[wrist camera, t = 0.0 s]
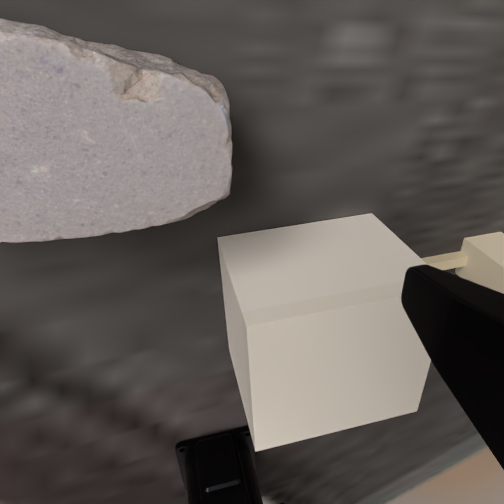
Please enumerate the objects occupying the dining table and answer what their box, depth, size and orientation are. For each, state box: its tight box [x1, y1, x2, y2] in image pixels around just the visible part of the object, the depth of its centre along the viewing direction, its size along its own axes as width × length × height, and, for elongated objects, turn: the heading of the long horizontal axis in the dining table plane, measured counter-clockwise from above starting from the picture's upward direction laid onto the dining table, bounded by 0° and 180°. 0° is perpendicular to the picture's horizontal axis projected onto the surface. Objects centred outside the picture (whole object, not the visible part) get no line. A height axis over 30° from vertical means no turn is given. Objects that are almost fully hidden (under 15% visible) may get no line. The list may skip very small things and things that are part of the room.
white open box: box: [217, 213, 431, 452], centre depth 24 cm, size 9×10×8 cm
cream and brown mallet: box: [421, 232, 504, 294], centre depth 26 cm, size 5×18×6 cm, turn 93°
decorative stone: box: [0, 18, 233, 243], centre depth 16 cm, size 15×7×10 cm
